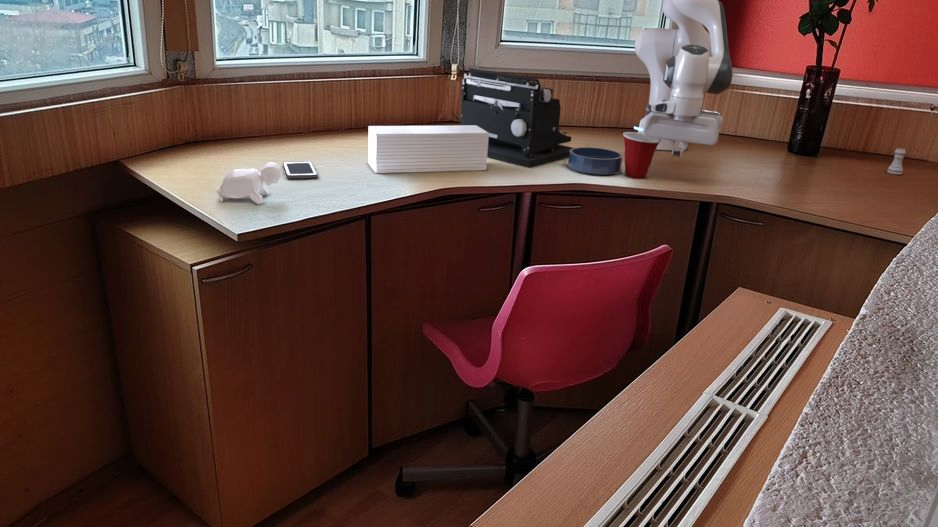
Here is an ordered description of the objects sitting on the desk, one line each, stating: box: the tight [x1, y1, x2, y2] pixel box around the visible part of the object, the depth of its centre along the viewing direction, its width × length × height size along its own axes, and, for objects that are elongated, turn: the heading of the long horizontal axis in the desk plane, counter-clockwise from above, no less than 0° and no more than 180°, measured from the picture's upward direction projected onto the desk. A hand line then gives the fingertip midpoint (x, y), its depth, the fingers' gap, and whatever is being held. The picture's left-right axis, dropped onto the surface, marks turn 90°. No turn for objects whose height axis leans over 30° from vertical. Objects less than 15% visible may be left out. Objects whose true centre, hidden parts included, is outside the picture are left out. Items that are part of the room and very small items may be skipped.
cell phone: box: [282, 160, 318, 180], centre depth 191 cm, size 8×15×1 cm, turn 18°
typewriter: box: [459, 67, 574, 168], centre depth 225 cm, size 31×27×25 cm
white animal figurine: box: [215, 161, 284, 205], centre depth 166 cm, size 9×8×15 cm
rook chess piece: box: [886, 147, 907, 176], centre depth 230 cm, size 4×4×8 cm
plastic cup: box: [622, 131, 661, 180], centre depth 206 cm, size 11×11×12 cm
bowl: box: [567, 146, 624, 176], centre depth 212 cm, size 16×16×5 cm
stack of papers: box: [367, 124, 489, 174], centre depth 202 cm, size 32×11×11 cm, turn 109°
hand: (676, 156), depth 202 cm, fingers closed
